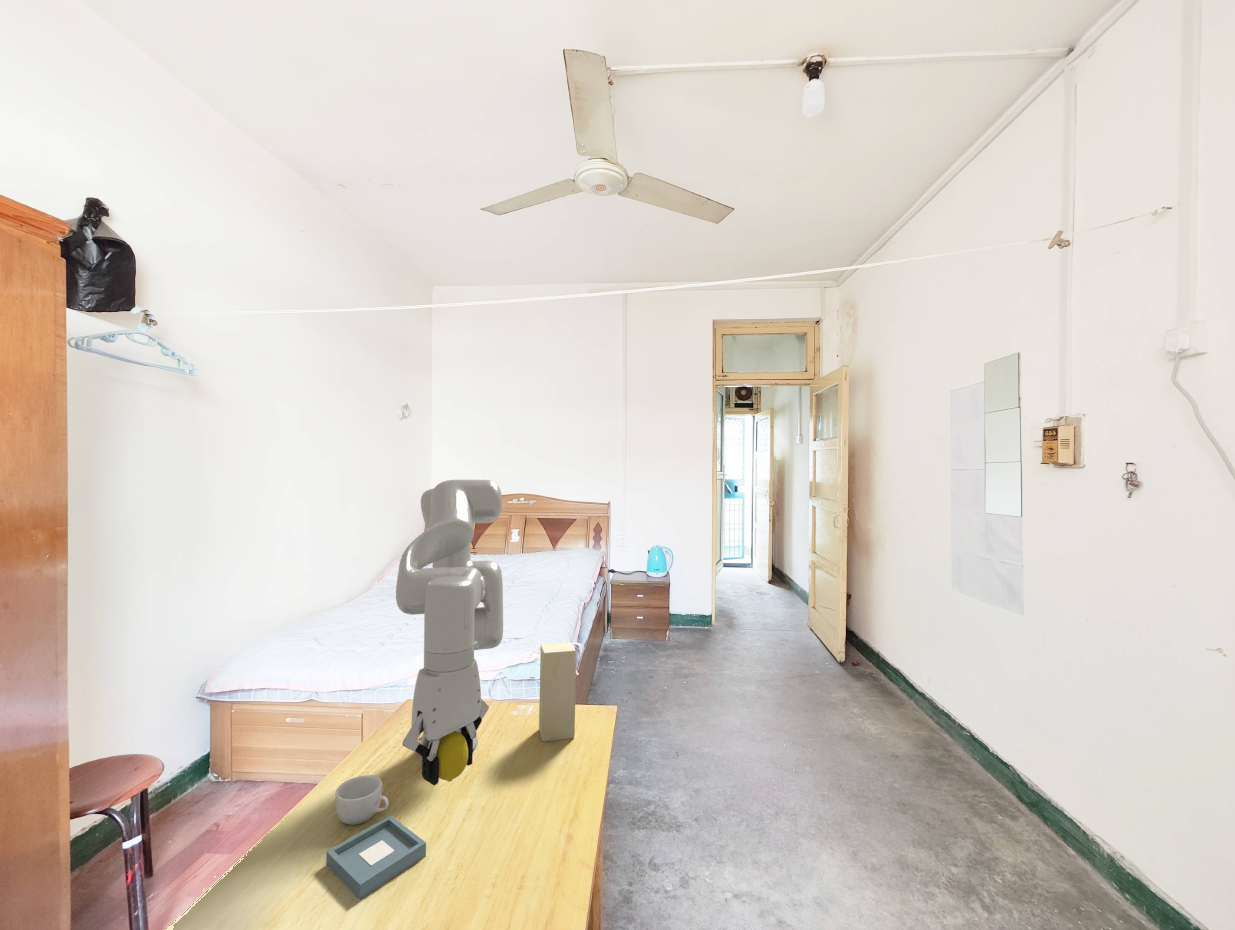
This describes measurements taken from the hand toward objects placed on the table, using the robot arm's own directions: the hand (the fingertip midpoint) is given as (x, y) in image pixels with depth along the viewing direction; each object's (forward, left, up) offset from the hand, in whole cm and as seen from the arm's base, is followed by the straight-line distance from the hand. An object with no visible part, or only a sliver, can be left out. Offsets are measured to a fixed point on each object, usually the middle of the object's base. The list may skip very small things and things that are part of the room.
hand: (448, 770), depth 81 cm
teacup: (-24, -1, -17) cm, 30 cm away
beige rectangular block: (-17, +43, -17) cm, 50 cm away
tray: (-12, -5, -17) cm, 22 cm away
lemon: (0, 0, -2) cm, 2 cm away
